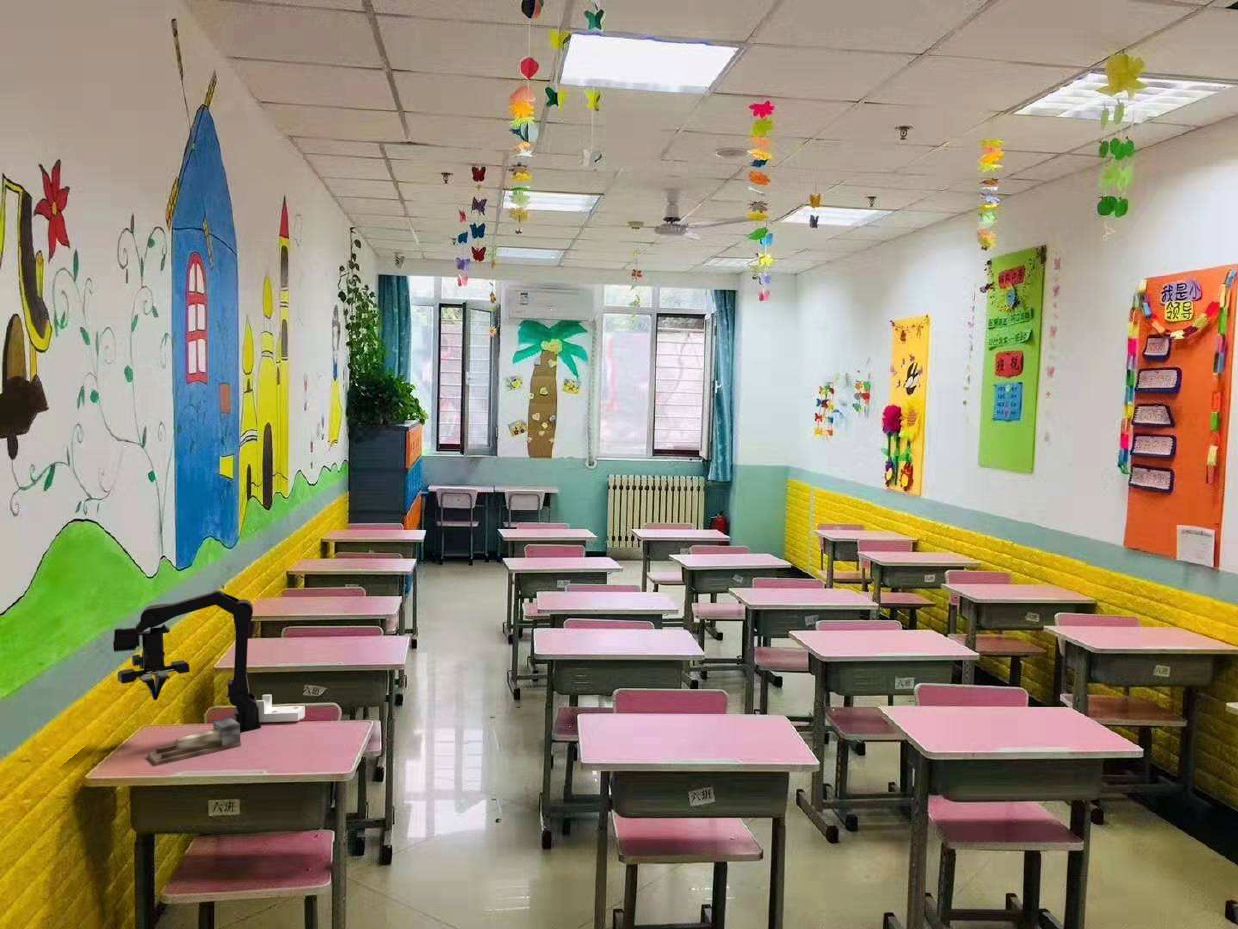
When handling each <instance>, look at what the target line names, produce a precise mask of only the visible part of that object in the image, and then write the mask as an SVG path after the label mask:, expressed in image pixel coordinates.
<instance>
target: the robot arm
mask: <svg viewBox="0 0 1238 929" xmlns="http://www.w3.org/2000/svg"><path fill="white" fill-rule="evenodd" d="M213 606H218V607H219V608H221V609H222V610H224V611H225V612H227V613H229V614H232V616H233V618H232V619H233V623H234V630H235V642H234V643H235V645H234V649H235V650H234V665H233V666H234V668H233V675H232V679H229V678H228V679H227V684H226V685H227V691H226V698H228V700H229V703H230V705H232V706H234V707H236V708H235V709H234V713H233V718H232V719H234V720H235V721H236V722H238V723H239V724H240V733H241V732H246V731H250V730H251V731H252V730H255V729H259V728H260V729H261V728H262V725H261V724H260V722H259V707H258V706H256V705H257V695H255V694H253V693H252V692H251V691H250V687H249V682H248V674H247V669H248V668H247V665H248V647H249V646H248V644H249V643H248V642H249V630H250V626H251V622H252V619H253V614H254V609H253V608H254V606H253V603H252V602H251V601H250V600H248V599H246V598H245V599H243V598H242V599H240V598H237V597H235V596H232V595H229V594H227V593H225V592H223V591H222V590H219V589H215V590H213V591H211V592H208V593H205V594H202V595H198V596H194V597H191V598H187V599H184V600H180V601H176V602H174V603H173V602H172V603H161V604H160V603H159V604H153V605H151V604H150V605H149V606H146V607H145V608H144V609H143V611H142V613H141V614H140V619H139V620H140V621H139V622H138V623H136V624H135V627H126V628H122V627H121V628H118V627H117V628H115V629H114V631H113V632H114V634H113V642H112V645H113V646H112V648H113V652H114V653H119V652H121V653H122V652H132V651H137V648H138V647H140V646H141V645H142V651H141V655H140V654H134V655H132V656H131V660H132V661H131V663H132V667H138V666H139V669H140V670H135V669H134V668H127V669H121V670H119V671H118V673H117V681H118V682H120V683H121V684H129V683H135V681H136V680H137V679H138V680H140V682H142V683H145V685H146V686H147V688H148V690H149V692H150V695H151V698H152V699H153V701H157V700H158V698H159V697H160V693H161V691H162V688H163V687H164V685H165V683H166V681H167V680H168V679H170V678H171V677H170V675H169V673H170V672H175V673H178V674H179V675H180V674H186V673H190V670H191V669H190V668H191V667H190V663H188V662H187V661H185V660H183V659H182V660H176V661H171V662H170V664H169V665H165V655H166V654H165V644H164V643H165V642H164V634H169V633H170V632H171V628H170V627H168V626H167V625H166V624H165V623H166V622H168V621H170V620H171V619H173V618H176V617H178V616H182V615H185V614H189V613H192V612H196V611H199V610H202V609H207V608H210V607H213ZM160 625H161V626H160ZM147 629H149V630H147ZM141 643H142V644H141ZM142 669H143V670H142ZM153 676H154V678H153Z"/></svg>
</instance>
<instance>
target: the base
mask: <svg viewBox="0 0 1238 929" xmlns="http://www.w3.org/2000/svg"><path fill="white" fill-rule="evenodd" d="M212 724H213V727H212V728H213V730H217V729H218V730H220V737H221V741H216V742H212V743H207V744H203V745H199V746H194V747H190V748H185V749H181V750H176V744H172V745H168V746H167V745H166V746H164V747H159V748H156V749H155V750H156V751H153V752H148V753H147V758H148V759H149V760H150V761H151V762H152V763H153V764H154V765H155V766H160V765H163V764H164V763H165V764H169V763H173V762H177V760H178V761H182V760H185V759H191V758H194V757H198V756H203V755H207V754H212V753H216V752H220V751H225V750H228V749H234V748H238V747H241V746H242V741H241V732H240V724H239V723H238V722H236V721H235V720H234V719H233V718H232V717H225V718H222V719H216V720H213V722H212ZM172 761H173V762H172ZM168 762H169V763H168ZM159 764H160V765H159ZM165 764H164V765H165Z"/></svg>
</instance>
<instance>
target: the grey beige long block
mask: <svg viewBox="0 0 1238 929" xmlns="http://www.w3.org/2000/svg"><path fill="white" fill-rule="evenodd" d="M216 741H221V737H220V730H218V729H217V730H214V729H213V730H209V731H203V732H199V733H194V734H191V735H190V734H189V735H186V736H182V737H176V738H175V745H176V750H181V749H185V748H190V747H194V746H199V745H203V744H207V743H212V742H216Z"/></svg>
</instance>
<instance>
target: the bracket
mask: <svg viewBox="0 0 1238 929" xmlns="http://www.w3.org/2000/svg"><path fill="white" fill-rule="evenodd" d="M256 700H257V699H256ZM272 700H273V697H272V694H263V695H262V698H261V700H260V699H259V700H257V705H256V706H258V707H259V723H276V722H277V723H279V722H299V721H300V720H303V719H304V718H305V717H306V709H305V705H296V706H295V705H293V706H292V705H291V706H289V705H288V706H287V705H285V706H273V701H272Z"/></svg>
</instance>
